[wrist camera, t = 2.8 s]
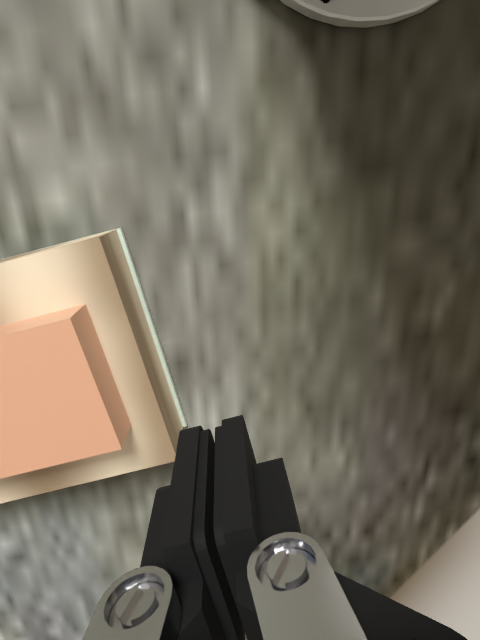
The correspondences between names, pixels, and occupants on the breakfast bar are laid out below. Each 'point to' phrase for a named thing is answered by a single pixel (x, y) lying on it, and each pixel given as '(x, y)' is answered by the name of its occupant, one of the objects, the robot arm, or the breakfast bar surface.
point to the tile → (56, 393)
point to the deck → (117, 343)
